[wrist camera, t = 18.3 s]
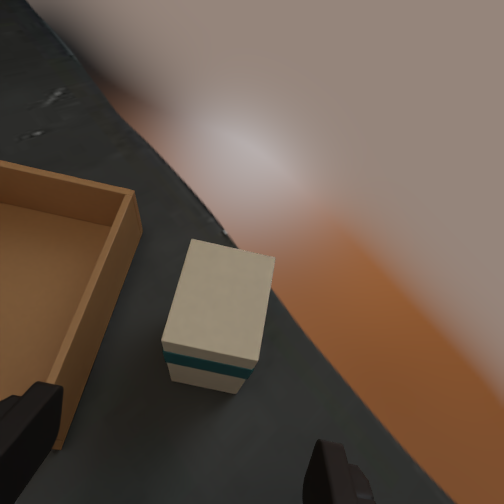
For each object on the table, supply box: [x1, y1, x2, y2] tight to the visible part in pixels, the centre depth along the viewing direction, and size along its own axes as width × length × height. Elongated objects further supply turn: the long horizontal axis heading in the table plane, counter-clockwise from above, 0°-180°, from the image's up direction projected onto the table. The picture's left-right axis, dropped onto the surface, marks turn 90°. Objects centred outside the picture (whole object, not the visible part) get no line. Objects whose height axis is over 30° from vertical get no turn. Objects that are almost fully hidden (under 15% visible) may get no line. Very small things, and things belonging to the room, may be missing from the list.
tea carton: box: [161, 239, 275, 394], centre depth 23 cm, size 6×5×10 cm
